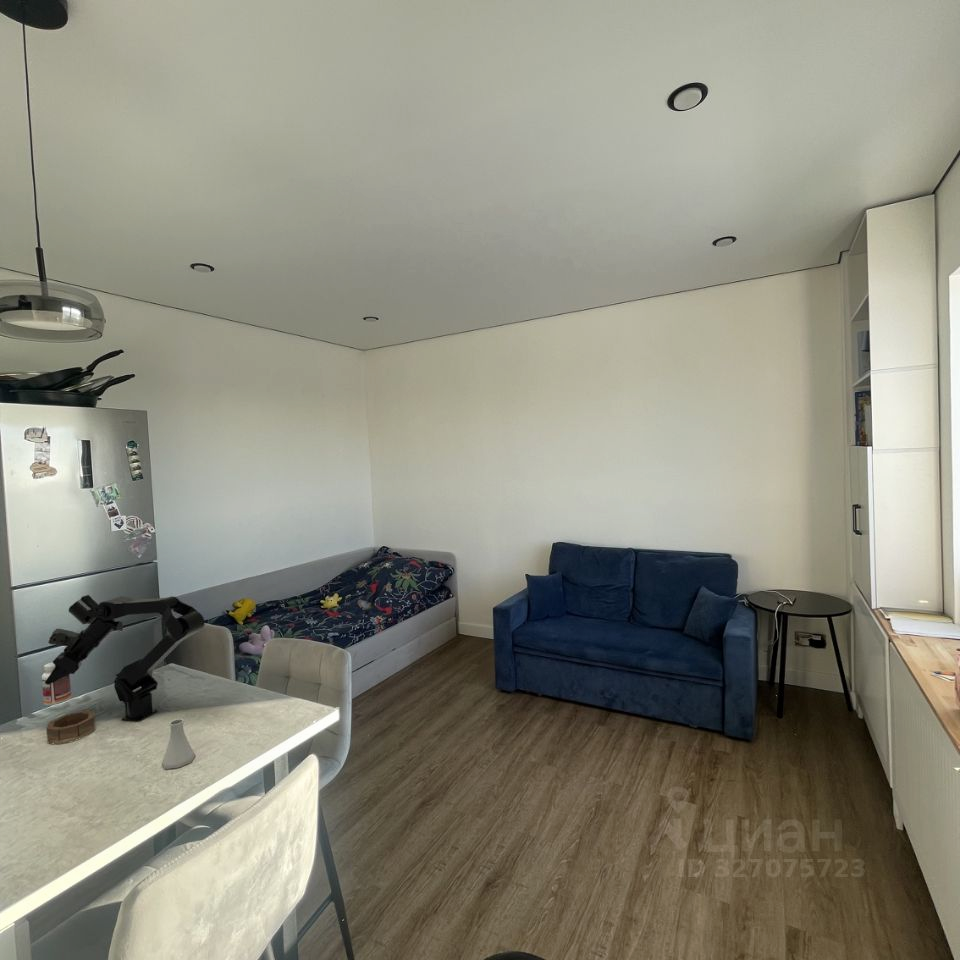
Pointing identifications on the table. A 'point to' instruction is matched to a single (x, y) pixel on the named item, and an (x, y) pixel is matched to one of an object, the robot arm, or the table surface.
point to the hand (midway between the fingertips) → (49, 679)
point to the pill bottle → (55, 687)
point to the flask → (177, 747)
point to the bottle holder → (71, 727)
